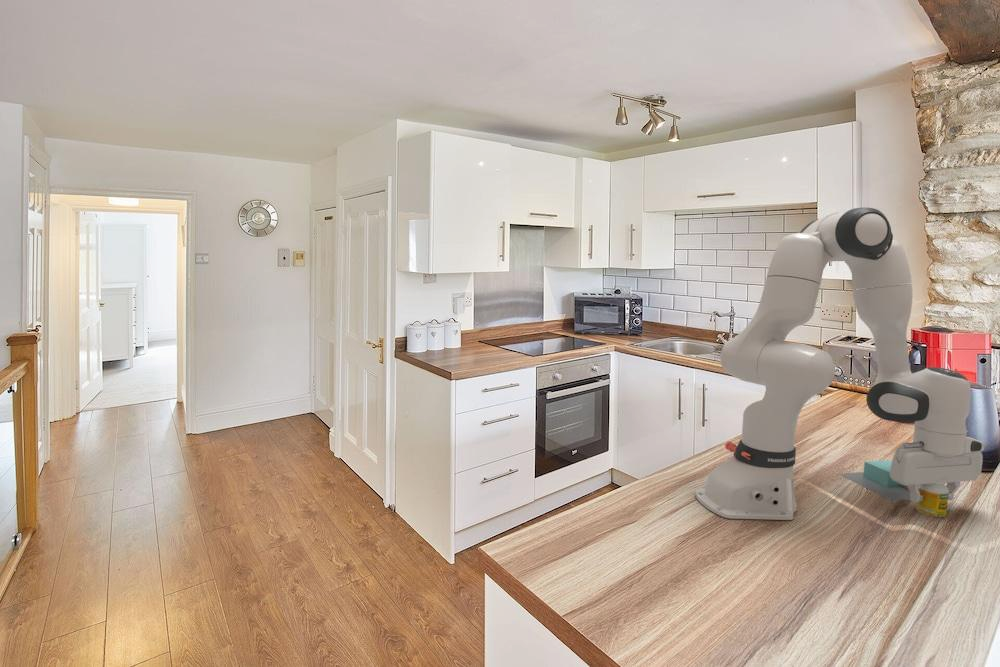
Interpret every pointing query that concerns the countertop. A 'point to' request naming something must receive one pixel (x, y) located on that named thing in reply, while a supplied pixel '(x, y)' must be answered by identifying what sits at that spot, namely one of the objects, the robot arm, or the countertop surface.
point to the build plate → (878, 487)
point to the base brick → (880, 472)
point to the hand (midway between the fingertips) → (931, 500)
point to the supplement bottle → (934, 498)
